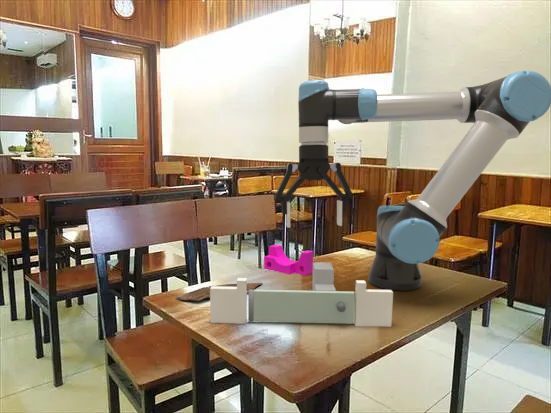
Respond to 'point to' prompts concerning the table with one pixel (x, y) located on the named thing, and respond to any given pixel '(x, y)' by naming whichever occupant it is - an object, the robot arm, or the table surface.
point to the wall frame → (368, 312)
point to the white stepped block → (323, 277)
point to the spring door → (301, 306)
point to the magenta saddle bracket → (288, 261)
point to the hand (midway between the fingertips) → (314, 226)
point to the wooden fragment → (205, 292)
